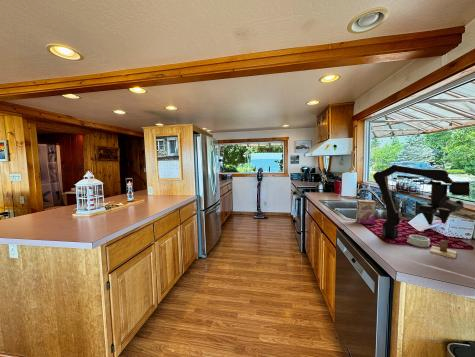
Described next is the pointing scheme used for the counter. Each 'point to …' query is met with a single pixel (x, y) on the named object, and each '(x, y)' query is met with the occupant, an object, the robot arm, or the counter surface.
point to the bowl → (419, 240)
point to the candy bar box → (365, 212)
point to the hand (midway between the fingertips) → (437, 224)
